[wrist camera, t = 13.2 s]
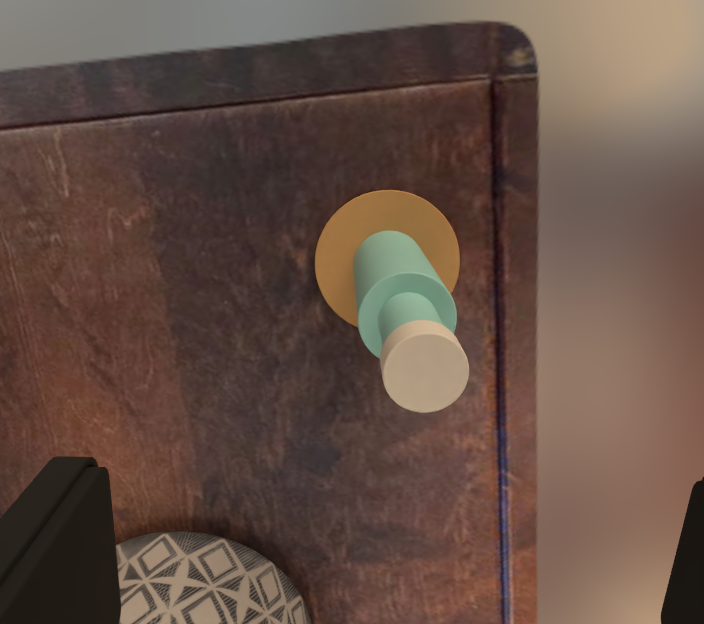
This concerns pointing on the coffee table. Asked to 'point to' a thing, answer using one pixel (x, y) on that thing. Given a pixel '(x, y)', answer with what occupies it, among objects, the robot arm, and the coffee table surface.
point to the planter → (202, 582)
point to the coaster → (373, 217)
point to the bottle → (408, 323)
